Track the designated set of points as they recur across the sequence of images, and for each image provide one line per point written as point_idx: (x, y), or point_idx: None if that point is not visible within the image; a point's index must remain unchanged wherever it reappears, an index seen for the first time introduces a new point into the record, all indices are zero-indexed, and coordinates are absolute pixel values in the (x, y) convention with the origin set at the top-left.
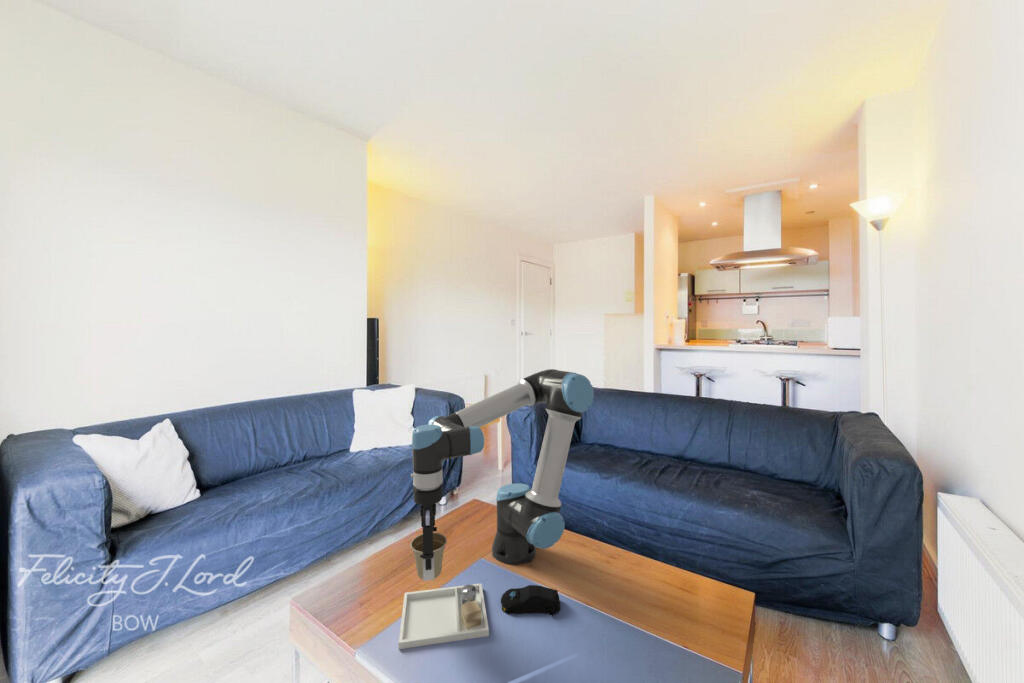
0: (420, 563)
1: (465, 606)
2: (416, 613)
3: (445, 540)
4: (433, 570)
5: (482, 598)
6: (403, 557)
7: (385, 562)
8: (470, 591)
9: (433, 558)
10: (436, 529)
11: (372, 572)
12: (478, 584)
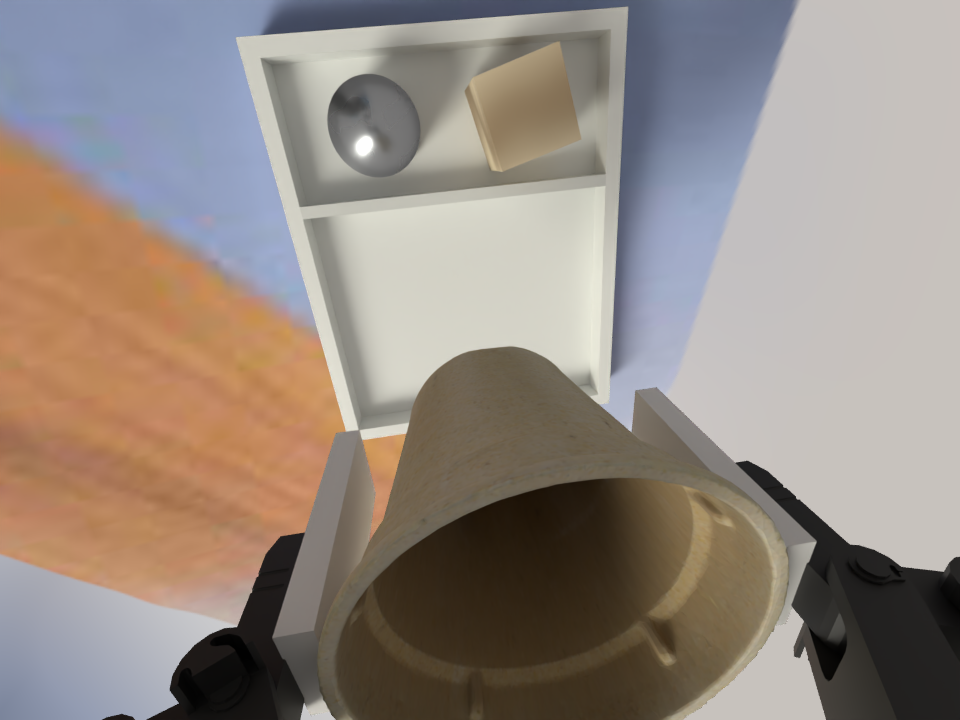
0: (619, 545)
1: (519, 146)
2: None
3: (548, 481)
4: (697, 432)
5: (385, 35)
6: (54, 493)
7: (117, 545)
8: (394, 114)
9: (781, 512)
10: (228, 659)
11: (198, 565)
12: (251, 61)
